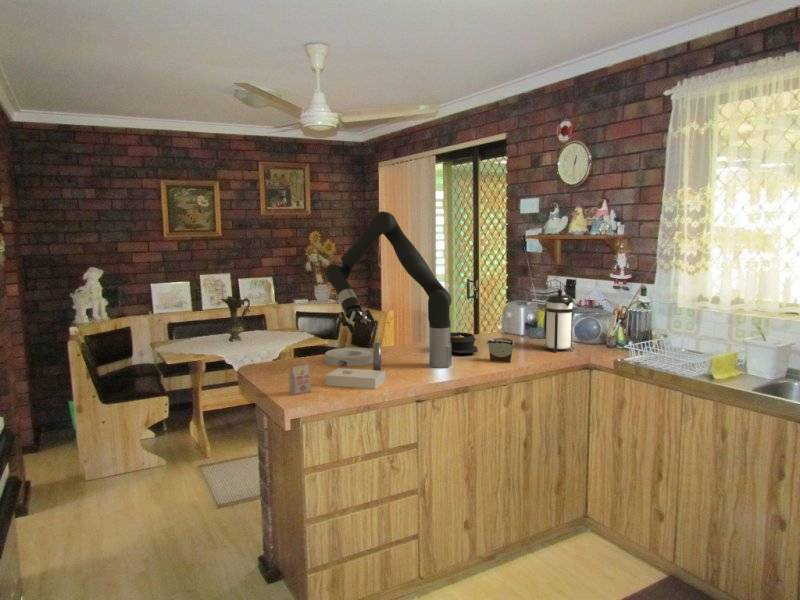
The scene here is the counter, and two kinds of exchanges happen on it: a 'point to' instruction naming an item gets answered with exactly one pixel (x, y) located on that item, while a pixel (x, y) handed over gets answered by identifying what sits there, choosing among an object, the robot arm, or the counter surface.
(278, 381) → the counter surface
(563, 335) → the coffee press
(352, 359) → the ashtray
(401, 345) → the counter surface
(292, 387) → the grey printed package
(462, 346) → the casserole
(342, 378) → the peg block
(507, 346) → the food container
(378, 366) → the graphite peg
